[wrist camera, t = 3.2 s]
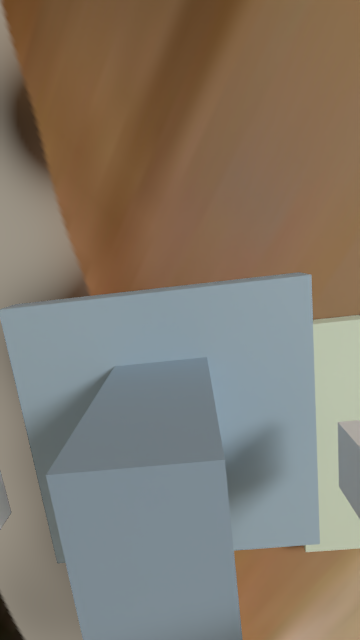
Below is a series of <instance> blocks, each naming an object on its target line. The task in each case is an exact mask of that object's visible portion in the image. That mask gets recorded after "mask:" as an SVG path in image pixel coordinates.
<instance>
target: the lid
mask: <svg viewBox="0 0 360 640" xmlns="http://www.w3.org/2000/svg"><path fill="white" fill-rule="evenodd" d="M0 319H1V324H2V328H3V332H4V337H5V341H6V345H7V349H8V353H9V358H10V362H11V367H12V371H13V375H14V379H15V384H16V388H17V392H18V396H19V401H20V405H21V410H22V414H23V418H24V422H25V427H26V431H27V435H28V440H29V444H30V448H31V452H32V457H33V461H34V465H35V470H36V474H37V478H38V482H39V487H40V490H41V495H42V500H43V504H44V508H45V512H46V517H47V521H48V525H49V529H50V534H51V538H52V542H53V547H54V551H55V555H56V560H57V563H66V566H67V570H68V575H69V580H70V584H71V588H72V593H73V597H74V602H75V606H76V610H77V615H78V619H79V623H80V628H81V632H82V637H83V640H242V631H241V621H240V610H239V600H238V590H237V580H236V569H235V559H234V550H247V549H260V548H274V547H288V546H301V545H315V544H320V530H319V499H318V468H317V436H316V405H315V374H314V343H313V312H312V280H311V275H310V274H305V273H300V272H299V273H290V274H281V275H273V276H264V277H255V278H246V279H237V280H228V281H219V282H210V283H201V284H193V285H184V286H175V287H166V288H157V289H148V290H139V291H130V292H121V293H112V294H104V295H95V296H86V297H77V298H68V299H59V300H51V301H42V302H33V303H24V304H15V305H12V306H9V307H6V308H3V309H0Z"/></svg>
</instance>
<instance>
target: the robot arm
mask: <svg viewBox="0 0 360 640" xmlns="http://www.w3.org/2000/svg"><path fill="white" fill-rule="evenodd" d="M338 467H339V487H340V489H341V491H342V492H343V494H344V495H345V497H346V498H347V500H348V502H349V503H350V505H351V506H352V508H353V510H354V511H355V513H356V514H357V516H358V517H359V519H360V421H359V420H355V421H343V422H338ZM10 514H11V510H10V506H9V502H8V498H7V494H6V490H5V486H4V483H3V479H2V475H1V471H0V529H1V528H2V526H3V525H4V523H5V522H6V520H7V519H8V517H9V516H10Z"/></svg>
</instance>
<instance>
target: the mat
mask: <svg viewBox="0 0 360 640" xmlns="http://www.w3.org/2000/svg"><path fill="white" fill-rule="evenodd" d="M313 343H314V374H315V405H316V436H317V468H318V499H319V530H320V544H315V545H303V546H304V548H305V551H306V552H314V551H328V550H342V549H356V548H360V519H359V517H358V516H357V514H356V513H355V511H354V510H353V508H352V506H351V505H350V503H349V502H348V500H347V498H346V497H345V495H344V494H343V492H342V491H341V489H340V487H339V467H338V422H343V421H355V420H359V421H360V315H355V316H345V317H336V318H326V319H317V320H313Z"/></svg>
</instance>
